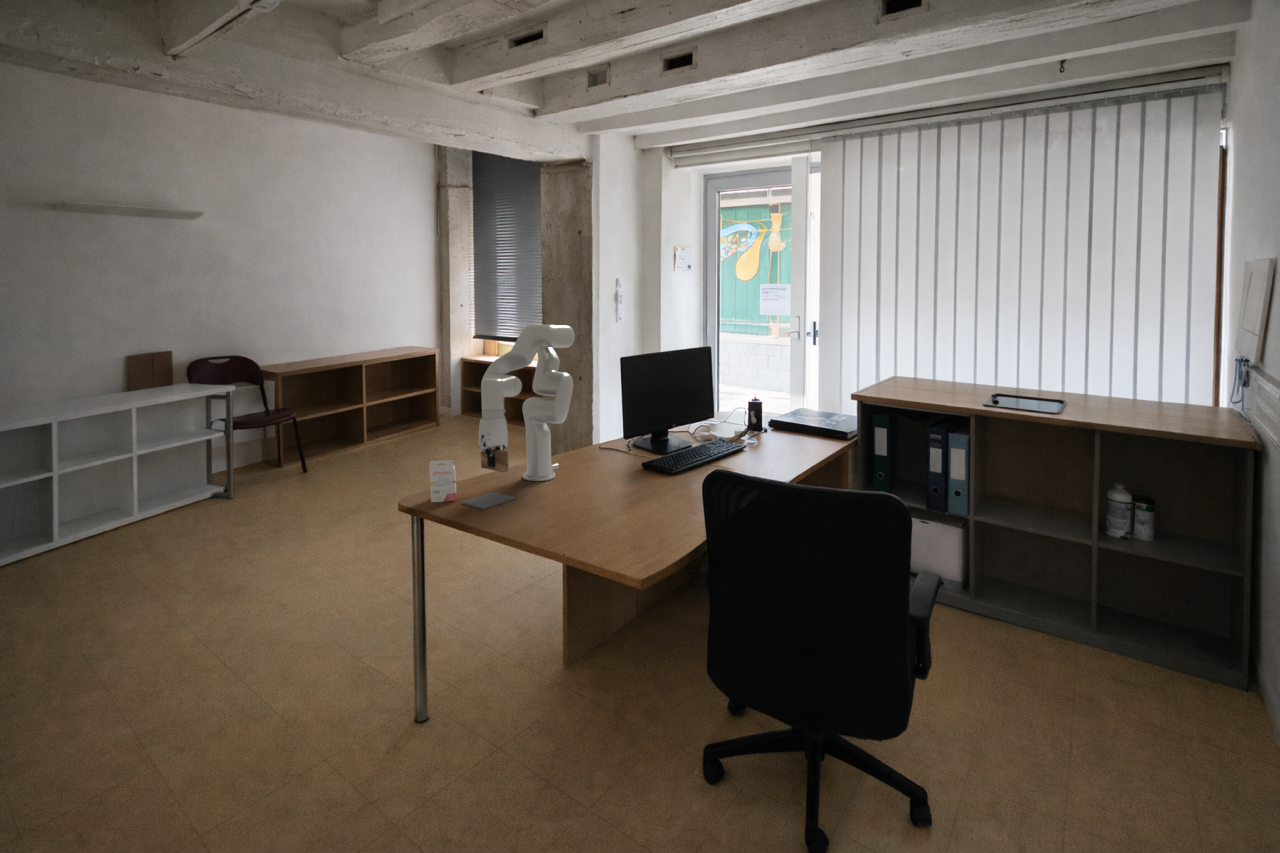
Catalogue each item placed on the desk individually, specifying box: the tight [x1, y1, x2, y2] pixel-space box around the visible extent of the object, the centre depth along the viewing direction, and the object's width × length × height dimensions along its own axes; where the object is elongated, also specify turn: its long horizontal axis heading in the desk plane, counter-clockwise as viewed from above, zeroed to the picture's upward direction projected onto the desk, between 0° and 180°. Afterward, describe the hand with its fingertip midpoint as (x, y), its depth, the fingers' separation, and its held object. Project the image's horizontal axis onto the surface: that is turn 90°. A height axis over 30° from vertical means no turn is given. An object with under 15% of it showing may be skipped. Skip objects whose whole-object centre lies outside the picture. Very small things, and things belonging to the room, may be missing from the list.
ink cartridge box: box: [428, 459, 458, 503], centre depth 245 cm, size 9×5×15 cm, turn 101°
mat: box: [460, 491, 517, 510], centre depth 245 cm, size 15×11×1 cm
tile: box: [480, 446, 510, 473], centre depth 245 cm, size 2×11×7 cm, turn 55°
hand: (494, 465), depth 245 cm, fingers closed on tile, 2 cm apart
